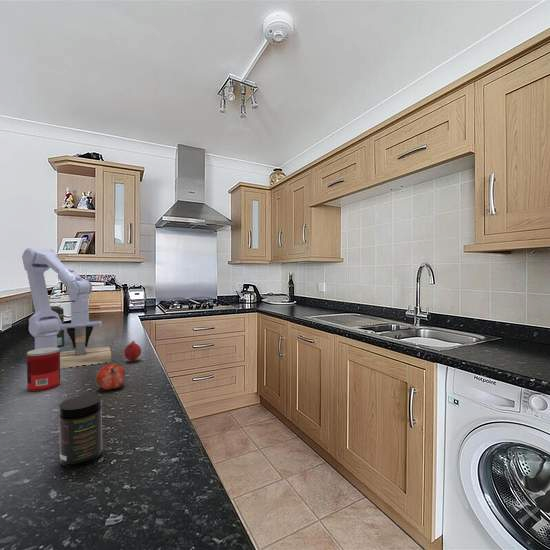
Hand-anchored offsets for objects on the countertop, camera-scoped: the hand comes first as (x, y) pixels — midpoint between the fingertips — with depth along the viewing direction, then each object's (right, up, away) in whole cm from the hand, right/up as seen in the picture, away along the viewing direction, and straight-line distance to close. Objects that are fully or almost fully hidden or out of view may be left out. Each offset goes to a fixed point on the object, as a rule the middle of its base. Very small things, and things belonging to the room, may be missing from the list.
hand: (80, 347), depth 119 cm
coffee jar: (-29, -6, +26) cm, 39 cm away
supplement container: (+39, -6, -62) cm, 73 cm away
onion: (+20, -6, 0) cm, 21 cm away
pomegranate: (+26, -6, -27) cm, 38 cm away
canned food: (+5, -6, -26) cm, 27 cm away
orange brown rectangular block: (0, -4, 0) cm, 4 cm away
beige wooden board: (0, -6, 0) cm, 6 cm away
